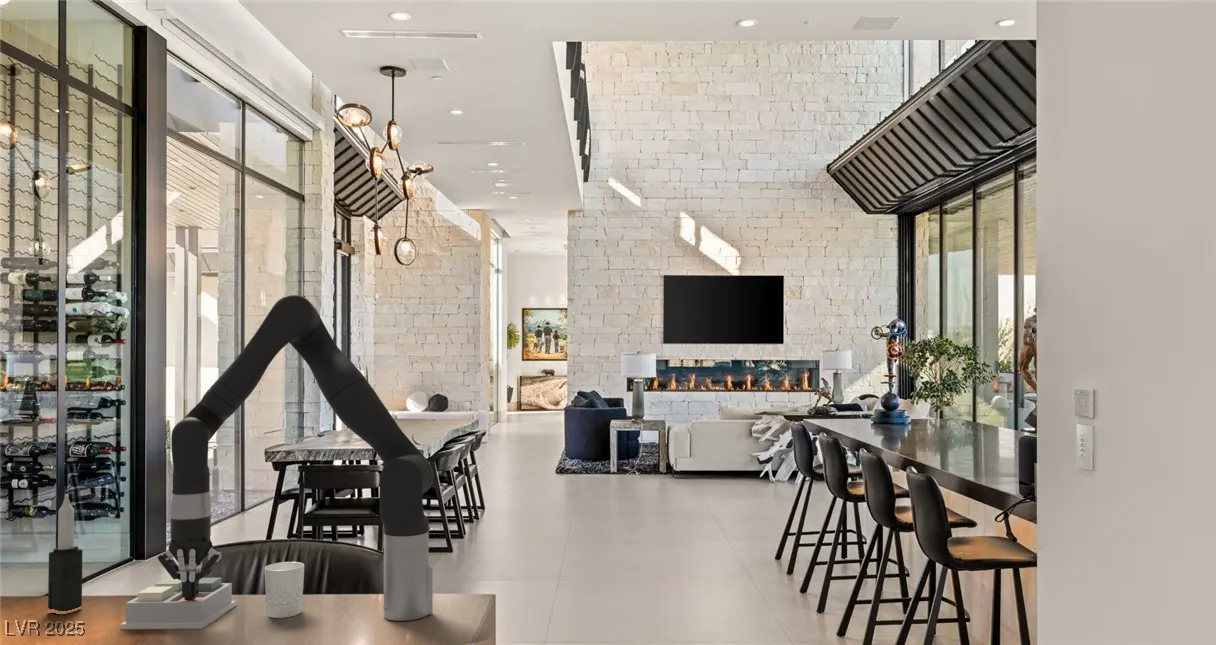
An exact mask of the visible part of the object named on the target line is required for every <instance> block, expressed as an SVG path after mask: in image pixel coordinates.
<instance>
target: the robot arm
mask: <svg viewBox="0 0 1216 645" xmlns="http://www.w3.org/2000/svg"><path fill="white" fill-rule="evenodd" d="M288 344H290V345H291V346H292V347H293V348H294V349H295V351H296V352H297V353H298V355H300V356H301V358H302V359H303V360H304V361H305V362H306V364H307V365H308V367H309V368H310V370H311V372H312V374H313V377H314V378H315V381H316V383H317V386H318V388H319V389H320V392H321V393H322V395H323V397H324V399H326V402H327V403H328V405H329V406H330V407H331V409H332V410H333V412H334V413H335V414H336V416H337V417H338V419H339V420H340V421H341V422H342V423H343V425H345V426H346V427H347V429H349V430H350V431H351V432H353V433H354V434H355V435H357V436H358V437H359V438H360V439H362V440H363V441H364V442H365V443H366V444H368V445H369V446H370V448H372V450H374V452H375V453H376V454H377V455H378V456H379V458H380V460H381V461H382V463H383V464H384V466H383V467H382V469H381V471H380V476H379V490H378V491H379V511H380V512H379V514H380V520H381V522H382V524H383V605H382V606H383V617H384V619H386V620H389V621H397V622H398V621H399V622H400V621H401V622H402V621H404V622H405V621H413V620H414V621H415V620H419V619H423V618H425V617H427V616H429V615H433V613H434V612H433V610H434V609H433V604H434V602H433V596H434V594H433V593H434V591H433V589H434V587H433V585H434V584H433V574H434V573H433V567H430V566H429V565H430V564H429V563H430V562H429V559H430V557H429V552H430V550H429V549H430V546H429V541H430V539H429V537H430V536H429V532H430V531H429V530H430V526H429V525H430V523H429V522H430V520H429V517H427V516H426V515H425V513H424V497H423V496H424V494H425V493H426V492H428V491H429V489H430V488H431V487H432V485H433V482H434V470H433V467H432V466H431V464H430V462H429V460H428V459H427V458H426V456H425V455H424V454H423V453H422V452H421V451H420V450H419V449H418V448H417V447H416V446H415V444H414V443H413V442H412V441H411V440H410V439H409V438H408V436H406V434H405V432H403V430H402V429H401V428H400V426H399V425H398V423H397V422H396V420H395V419H394V417H393V416H392V414H391V413H390V411H389V409H387V407H386V406H385V404H384V403H383V401H382V400H381V399H380V397H379V395H378V394H377V392H376V391H375V390H374V388H373V387H372V385H371V384H370V383H369V381H368V380H367V378H366V377H365V375H363V373H362V372H361V371H360V369H358V368H357V366H356V365H355V364H354V363H353V362H352V361H351V360H350V359H349V357H347V355H346V354H345V353H343V351H342V350H341V349H340V348H339V346H338V345H337V344H336V342H335V341H334V339H333V338H332V335H331V334H330V333H329V331H328V329H327V328H326V326H325V324H324V322H323V320H322V318H321V316H320V313H319V312H318V310H317V309H316V308H315V306H314V305H313V304H312V303H311V301H310V300H308V299H307V298H306V297H304V296H302V295H299V294H288V295H285V296H282V297H281V298H280V299H278V300H277V301H276V302H275V303H274V305H273V306H272V308H271V309H270V311H269V312H268V314H267V315H266V316H265V318H264V320H263V321H262V323H261V324H260V326H259V328H258V329H257V330H256V332H255V333H254V335H253V336H252V338H251V339H250V340H249V341H248V343H247V344H246V346H245V347H244V348H243V350H241V352H240V353H239V354H238V356H237V357H236V358H235V359H234V360H233V361H232V363H231V364H230V365H229V367H228V368H226V370H224V372H223V373H222V374H220V376H219V377H218V378H217V380H215V382H214V383H213V384H212V385H211V386H210V387H209V389H208V390H206V392H205V393H204V394H203V396H202V397H201V400H200V401H199V402H198V403H197V404H196V405H195V406H194V407H193V408H192V409H191V410H190V411H189V412H188V413H187V414H186V415H185V416H184V417H183V418H182V419H181V420H180V421H179V422H178V423H176V424H175V426H174V427H173V429H172V432H171V436H170V437H171V438H170V440H171V441H170V442H171V443H170V444H171V446H170V447H171V458H172V468H173V469H172V478H171V479H172V482H171V483H172V484H171V486H172V489H171V490H172V493H171V502H170V512H169V514H170V542H169V545H168V549H167V550H165V552H163V553H162V554H161V553H160V554H159V555H158V556H157V560H158V562H160V564H161V565H162V567H163V568H164V569H165V570H166V572H167V573H168V575H169V576H170V578H173V579H178V580H181V582H182V596H183V597H184V599H185V600H194V599H195V598H196V596H198V594H199V580H200V579H202V578H207V576H208V575H210V573H212V572H211V571H213V569H214V568H215V567H216V565H217V564H218V563H219V562H220V560H221V559H222V558H223V556H224V553H223V552H222V551H218V550H216V549H214V548H213V543H212V540H211V536H212V535H211V534H212V528H211V527H212V525H211V524H212V522H211V520H212V518H211V517H212V513H211V512H212V502H211V494H210V492H211V490H210V489H211V488H210V486H211V483H210V482H211V481H210V480H211V477H210V476H211V475H210V474H211V473H210V467H209V465H208V464H209V460H208V459H209V441H210V440H211V439H212V438H213V437H214V435H215V434H216V433H217V432H218V431H219V429H220V428H221V426H222V425H223V424H224V423H225V421H226V420H228V419H229V418H230V417H231V416H232V415H233V414H234V413H236V411H237V410H238V409H239V408H240V407H241V405H242V404H243V403H244V402H245V401H246V400H247V398H249V397H250V395H251V394H252V392H253V391H254V390H255V389H256V387H257V385H259V383H260V381H261V379H262V378H263V376H264V374H265V372H266V370H267V369H268V367H269V365H270V364H271V362H273V360H274V359H275V357H276V356H277V355H278V354H279V353H280V351H281V350H283V349H284V347H285V346H287V345H288ZM206 558H207V560H208V561H207V563H206V564H204V566H203V562H204V560H205V559H206ZM174 559H175V560H174Z"/></svg>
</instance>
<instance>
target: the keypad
mask: <svg viewBox="0 0 1216 645" xmlns="http://www.w3.org/2000/svg"><path fill="white" fill-rule="evenodd" d="M232 587H233V583H232V582H227V583H226V582H221V587H220V588H219V589H217V590H215V591H214V592H199V594H198V596H196V597H204V598H202V599H201V600H199V601H178V600H180V599H182V598H184V597H183V596H182V591H181V592H173V596H172V597H170V598H168V599H167V600H165V601H146V602H138V596H137V597H135V598H133V599H131V600H129V601H126V603H125V621H123V622H122V623H120V626H119V627H120V628H119V629H120V630H173V629H174V630H175V629H176V630H177V629H179V630H180V629H181V630H190V629H191V630H192V629H195V630H197V629H199V630H201V629H204V628H206V627H207V626H208V625H211V623H213V622H215V621H216V620H217V619H219V618H220V617H222V616H223V615H225V614H226V613H227V612H229V611H231V609H233V608H235V607H236V606H237V601H236V600H232V598H233V597H232V596H233V590H232V589H233V588H232Z"/></svg>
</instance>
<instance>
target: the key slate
mask: <svg viewBox="0 0 1216 645" xmlns="http://www.w3.org/2000/svg"><path fill="white" fill-rule="evenodd" d="M221 583H222V577H204V578H202V579H200V580H199V592H214V591H215V590H217V589H219V588H220V587H221Z"/></svg>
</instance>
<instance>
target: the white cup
mask: <svg viewBox="0 0 1216 645" xmlns="http://www.w3.org/2000/svg"><path fill="white" fill-rule="evenodd" d="M304 577H305V564H304V563H303V562H300V561H282V562H275V563H271V564H268V565H265V567H264V584H265V585H264V586H265V601H266V615H267V616H268V617H269V618H272V619H283V618H284V619H285V618H286V619H287V618H291V616H292V617H295V616H297V614H298V615H299V613H300V614H301V612H302V606H303V604H302V601H303V597H304V596H303V595H304V594H303V591H304Z"/></svg>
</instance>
